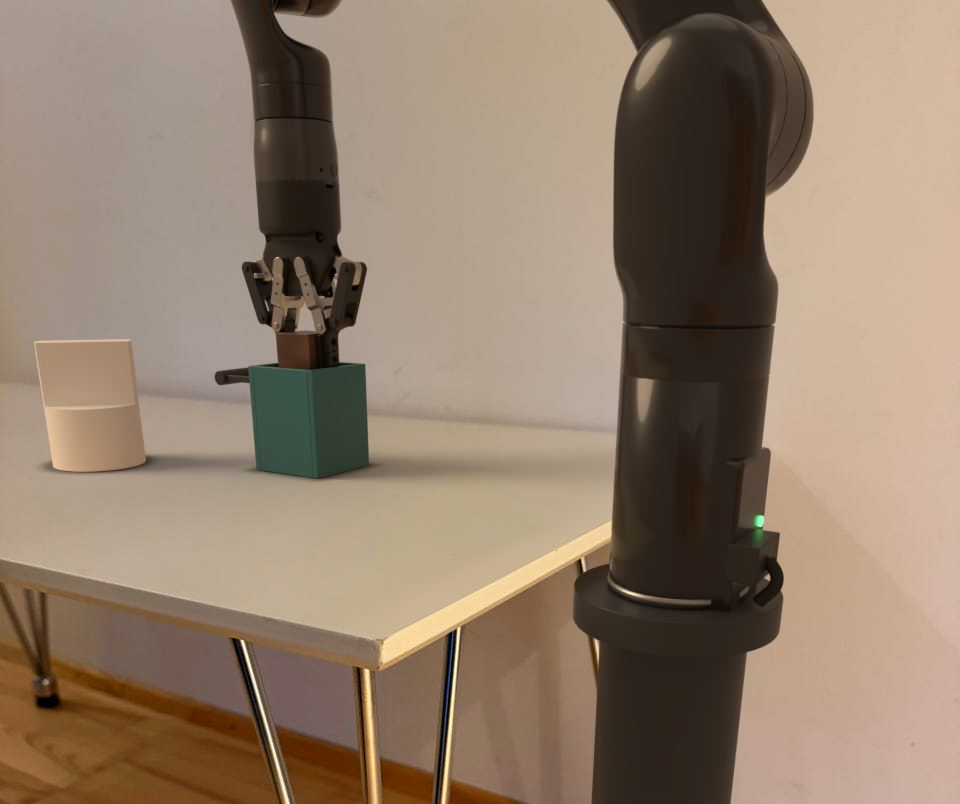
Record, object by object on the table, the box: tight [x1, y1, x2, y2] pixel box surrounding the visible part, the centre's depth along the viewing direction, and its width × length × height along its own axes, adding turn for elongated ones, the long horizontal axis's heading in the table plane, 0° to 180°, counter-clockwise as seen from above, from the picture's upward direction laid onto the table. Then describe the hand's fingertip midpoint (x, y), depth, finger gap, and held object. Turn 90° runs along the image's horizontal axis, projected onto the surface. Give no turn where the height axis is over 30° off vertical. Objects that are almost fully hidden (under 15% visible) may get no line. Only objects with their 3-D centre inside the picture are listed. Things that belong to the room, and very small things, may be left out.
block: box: [275, 330, 319, 370], centre depth 95 cm, size 4×4×4 cm
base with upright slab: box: [33, 338, 147, 473], centre depth 99 cm, size 9×9×12 cm
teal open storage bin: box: [214, 361, 370, 479], centre depth 98 cm, size 10×8×14 cm
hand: (309, 372), depth 95 cm, fingers closed on block, 4 cm apart
